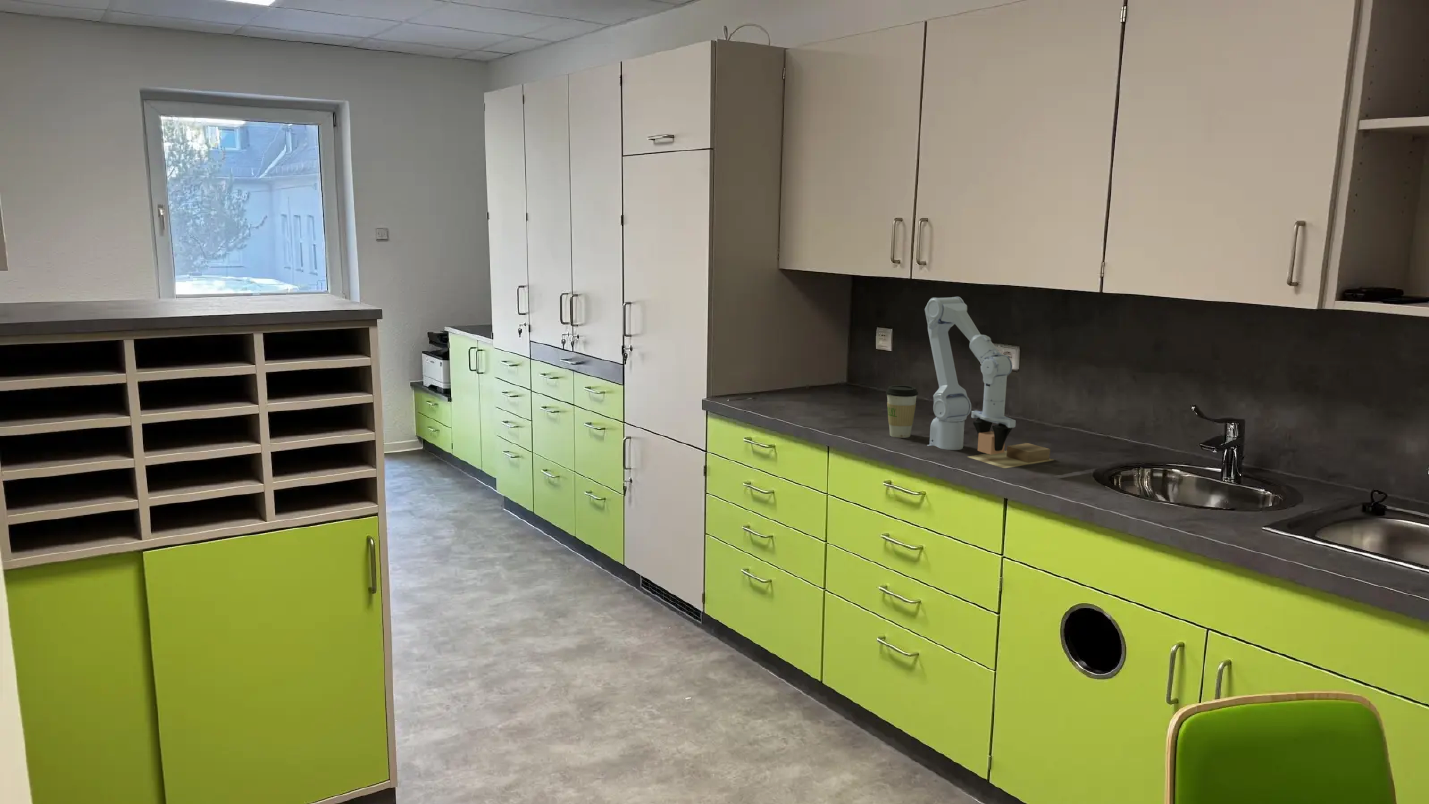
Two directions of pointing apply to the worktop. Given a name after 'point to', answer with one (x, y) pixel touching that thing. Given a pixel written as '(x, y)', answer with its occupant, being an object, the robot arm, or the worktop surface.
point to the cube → (988, 443)
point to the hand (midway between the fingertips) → (991, 448)
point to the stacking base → (1001, 460)
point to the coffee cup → (901, 409)
